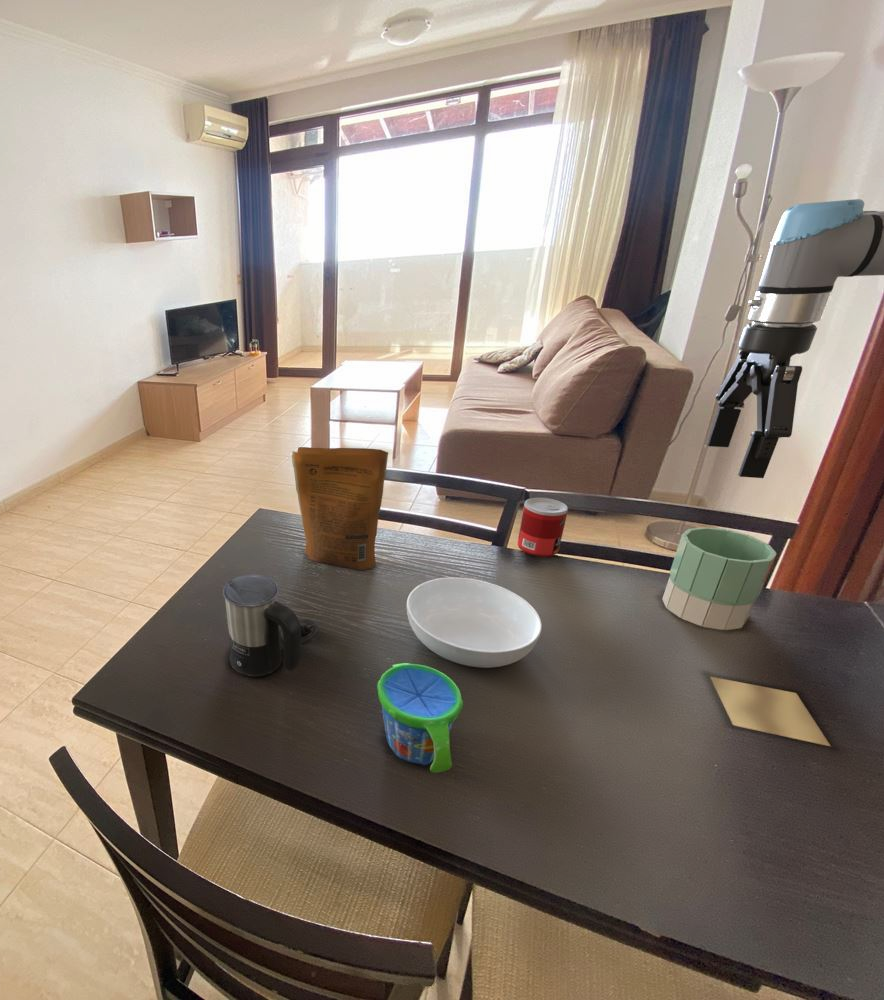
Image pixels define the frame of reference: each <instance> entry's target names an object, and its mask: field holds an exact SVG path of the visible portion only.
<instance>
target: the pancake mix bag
mask: <svg viewBox="0 0 884 1000" xmlns="http://www.w3.org/2000/svg"><path fill="white" fill-rule="evenodd" d="M388 458H389V452H388V451H385V450H383V449H378V448H363V447H362V448H361V447H330V448H329V447H325V448H324V447H309V446H308V447H307V446H298V447H297V451H296V450H292V454H291V463H292V467H293V472H294V482H295V490H296V494H297V500H298V506H299V511H300V515H301V522H302V529H303V533H304V538H305V542H306V544H305V547H304V554H305V555H306V556H307V557H308V558H309V560H311V561H313V562H315V563H320V564H325V565H329V566H337V567H342V568H348V569H352V570H357V571H365V570H369V569H372V568H375V567H377V561H376V560H377V559H376V548H375V547H376V546H375V545H376V539H377V534H378V524H379V515H380V512H381V507H382V502H383V496H384V486H385V479H386V476H387V465H388Z"/></svg>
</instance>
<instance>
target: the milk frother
mask: <svg viewBox="0 0 884 1000" xmlns="http://www.w3.org/2000/svg"><path fill="white" fill-rule="evenodd" d="M222 595H223V597H224V600H225V609H226V619H227V627H228V635H229V647H230V655H229V663H230V665H231V667H232V669H233V670H234V671H236V672H237V673H239V674H240V675H242V676H246V677H255V678H258V677H264V676H267V675H270V674H272V673H274V672H275V671H276V670H278V669H279V668H280V666H281V664H283V668H284V670H285V671H289V672H291V671H293V670H294V669H295V668H297V666H298V665H299V664H300V663H301V649H302V648H301V647H302V646H303V647H304V646H305V645H307V644H310V643H311V642H312V641H314V640H315V639H316V638H317V637H318V635H320V630H321V629H320V627H319V624H318V623H317V621H314V620H312V619H309V618H301V619H299V618H298V615H297V614H296V613H295V612H294V610H292V609H291V608H290V607H289V606H287V605H285V604H283V603H282V602H279V601H278V595H279V586H278V583H277V582H276V581H275V580H274V579H272V578H271V577H269V576H265V575H261V574H245V575H240V576H237V577H235V578H233V579H231V580H228V581H227V582H226V584H224V587H223V589H222ZM280 629H281V633H280ZM307 633H309V634H308V635H306V636H303V637H302V635H303V634H307ZM280 636H281V640H282V644H283V645H282V647H281V643H280V641H281V640H280ZM282 654H283V655H282ZM282 662H283V663H282Z"/></svg>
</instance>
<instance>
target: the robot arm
mask: <svg viewBox="0 0 884 1000" xmlns="http://www.w3.org/2000/svg"><path fill="white" fill-rule="evenodd" d="M864 208H865V201H864V200H863V199H860V198H856V199H855V198H853V199H842V200H832V201H817V202H806V203H797V204H794V205H792V206H790V207H789V208H787V209H786V210H785V211H784V212H783V214H782V215H781V218H780V220H779V222H778V225H777V227H776V230H775V232H774V234H773V238H772V239H771V241H770V246H769V250H768V253H767V257H766V260H765V263H764V267H763V270H762V274H761V277H760V281H759V283H758V287H757V288H756V292H755V295H754V299H751V300H749V301H748V306H749V307H750V311H749V313H748V316H747V319H748V320H749V321H750V322H749V323H747V324H746V325H744V327H743V330H742V334H741V336H740V340H739V343H738V349H739V351H738V354H737V356H736V359H735V362H734V363H733V365H732V367H731V369H730V370H729V372H728V373H727V376H726V377H725V379H724V380H723V382H722V384H721V385H720V387H719V389H718V391H717V392H716V394H715V396H714V399H715V401H718V402H717V407H718V409H717V412H716V415H715V418H714V420H713V425H712V427H711V430H710V433H709V436H708V439H707V443H706V446H707V447H711V448H712V447H713V448H715V447H716V448H729V446H730V444H731V441H732V438H733V436H734V432H735V429H736V426H737V423H738V421H739V418H740V415H741V413H742V412H741V411H742V409H743V408H745V400H747V399H748V397H749V396H750V395H751V394H753V395H755V396H756V430H754V431H752V432H751V433H750V436H751V437H750V440H749V443H748V445H747V449H746V451H745V454H744V457H743V460H742V463H741V464H740V468H739V471H738V474H737V476H738V477H741V478H751V479H752V478H753V479H764V478H765V476H766V472H767V471H768V467H769V465H770V462H771V460H772V457H773V454H774V452H775V449H776V446H777V444H778V441H779V439H782V438H790V437H792V434H793V428H794V418H795V411H796V402H797V394H798V387H799V381H800V379H801V376H802V373H803V366H802V365H791V359H792V357H793V356H795V355H801V354H804V353H806V352H808V351H810V349H811V346H812V344H813V341H814V338H815V336H816V333H817V332H818V331H817V330H818V327H817V325H815V323H818V322H819V321H821V320H822V319H823V317H824V314H825V312H826V308H827V306H828V303H829V300H830V298H831V295H832V293H833V289H834V286H835V283H836V281H837V279H838V278H852V277H869V276H884V211H881V210H880V211H878V210H864ZM741 408H742V409H741Z"/></svg>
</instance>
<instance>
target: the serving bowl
mask: <svg viewBox="0 0 884 1000" xmlns="http://www.w3.org/2000/svg"><path fill="white" fill-rule="evenodd" d="M406 614H407V615H406V616H407V618H408V622H409V625H410V628H411V629H412V631H413V633H414V635H415V636H416V637H417V638H418V640H419V641H420V642H421V643H422V644H423V646H425V647H426V648H428V649H429V650H430V651H431V652H433V653H434V654H436V655H438V656H439V657H441V658H443V659H445V660H448V661H450V662H453V663H456V664H459V665H463V666H467V667H473V668H482V669H483V668H484V669H486V668H487V669H488V668H498V667H499V668H501V667H504V666H508V665H512V664H513V663H516V662H518V661H520V660H522V659H523V658H524V657H526V656H527V655H528V654H529V653H531V651H532V650H533V649H534V648H535V646H536V644H537V642H538V641H539V639H540V636H541V633H542V630H543V625H542V620H541V617H540V615H539V613H538V612H537V610H536V609H535V608H534V607H533V606H532V605H531V604H530V603H529V602H528V601H527V600H525V598H523V597H522V596H519V595H518V594H516V593H515V592H514V591H511V590H509V589H507V588H505V587H503V586H500V585H497V584H494V583H491V582H488V581H484V580H479V579H475V578H469V577H468V578H467V577H441V578H435V579H431V580H427V581H425V582H422V583H421V584H419V585H417V586H416V587H414V588H413V590H412V591H411V592H410V593H409V594H408V597H407V600H406Z"/></svg>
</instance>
